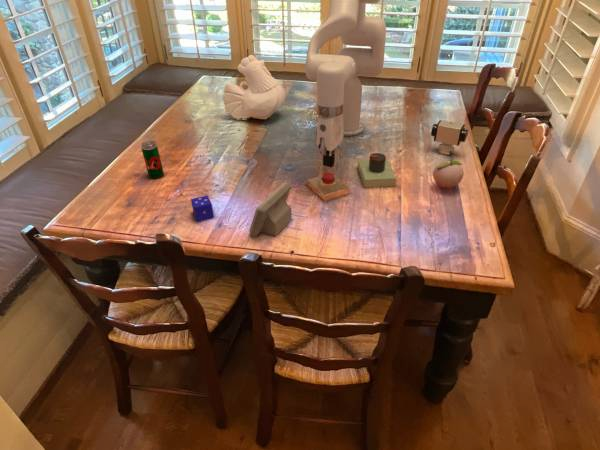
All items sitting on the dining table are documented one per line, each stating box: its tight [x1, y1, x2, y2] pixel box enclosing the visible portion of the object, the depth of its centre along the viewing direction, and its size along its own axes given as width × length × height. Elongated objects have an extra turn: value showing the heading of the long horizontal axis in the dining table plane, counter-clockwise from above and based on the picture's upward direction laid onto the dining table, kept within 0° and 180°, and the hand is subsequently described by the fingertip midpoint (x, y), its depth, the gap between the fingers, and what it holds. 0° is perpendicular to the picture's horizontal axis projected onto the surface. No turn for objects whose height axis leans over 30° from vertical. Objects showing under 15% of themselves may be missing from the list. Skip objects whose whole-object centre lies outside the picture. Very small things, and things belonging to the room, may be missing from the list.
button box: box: [306, 173, 350, 202], centre depth 139 cm, size 11×9×4 cm
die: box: [190, 195, 215, 222], centre depth 128 cm, size 5×5×5 cm
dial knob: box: [368, 152, 387, 173], centre depth 142 cm, size 5×5×5 cm
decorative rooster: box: [222, 54, 286, 121], centre depth 182 cm, size 25×16×25 cm
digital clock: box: [249, 181, 292, 237], centre depth 122 cm, size 16×9×11 cm, turn 140°
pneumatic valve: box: [430, 119, 469, 156], centre depth 155 cm, size 6×12×12 cm, turn 61°
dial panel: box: [357, 158, 397, 188], centre depth 145 cm, size 13×10×3 cm
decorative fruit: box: [432, 159, 465, 189], centre depth 136 cm, size 9×8×10 cm
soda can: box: [140, 140, 165, 180], centre depth 145 cm, size 5×5×12 cm
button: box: [321, 171, 335, 182], centre depth 137 cm, size 4×4×2 cm
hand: (328, 165), depth 135 cm, fingers closed
